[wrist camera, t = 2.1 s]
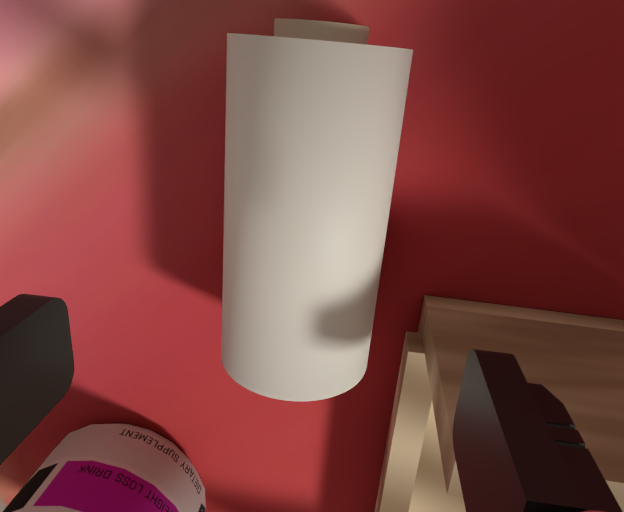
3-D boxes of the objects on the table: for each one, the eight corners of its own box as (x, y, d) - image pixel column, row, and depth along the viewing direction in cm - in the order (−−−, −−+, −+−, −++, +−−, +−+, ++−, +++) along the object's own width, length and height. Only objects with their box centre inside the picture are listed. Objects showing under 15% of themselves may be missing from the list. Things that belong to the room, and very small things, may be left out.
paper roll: (247, 20, 18) (204, 8, 13) (406, 34, 17) (427, 27, 12) (238, 322, 22) (203, 403, 17) (364, 336, 22) (366, 422, 17)
